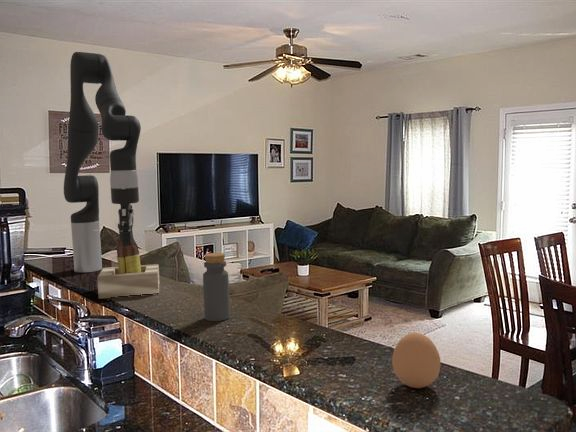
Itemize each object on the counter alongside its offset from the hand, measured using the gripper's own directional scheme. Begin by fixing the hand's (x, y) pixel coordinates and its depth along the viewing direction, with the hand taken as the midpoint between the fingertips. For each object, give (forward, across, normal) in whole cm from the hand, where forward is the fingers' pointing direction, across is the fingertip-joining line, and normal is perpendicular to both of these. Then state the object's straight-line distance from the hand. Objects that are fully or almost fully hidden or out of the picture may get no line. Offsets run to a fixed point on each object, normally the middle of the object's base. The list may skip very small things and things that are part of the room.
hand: (127, 242), depth 155 cm
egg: (+13, +84, +49) cm, 98 cm away
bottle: (+14, +36, +22) cm, 45 cm away
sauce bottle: (+14, 0, 0) cm, 14 cm away
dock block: (+14, 0, 0) cm, 14 cm away
